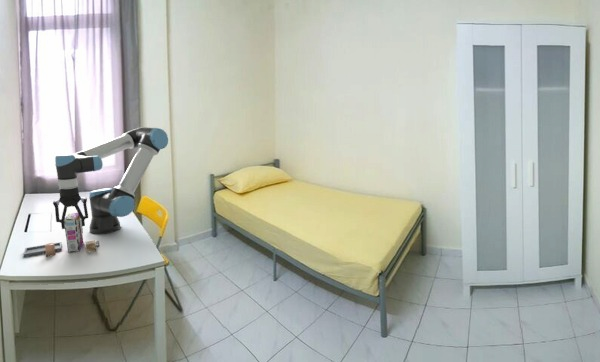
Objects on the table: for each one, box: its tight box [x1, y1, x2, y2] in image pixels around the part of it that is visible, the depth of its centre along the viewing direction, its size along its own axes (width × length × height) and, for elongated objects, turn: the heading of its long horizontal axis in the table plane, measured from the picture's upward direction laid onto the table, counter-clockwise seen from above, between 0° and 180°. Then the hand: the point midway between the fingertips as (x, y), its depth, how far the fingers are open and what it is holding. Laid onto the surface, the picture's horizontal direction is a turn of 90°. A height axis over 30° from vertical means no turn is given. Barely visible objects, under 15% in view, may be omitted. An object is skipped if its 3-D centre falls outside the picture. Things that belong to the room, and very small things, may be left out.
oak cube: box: [85, 240, 97, 253], centre depth 163 cm, size 4×4×4 cm
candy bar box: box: [64, 212, 84, 253], centre depth 164 cm, size 11×5×16 cm, turn 23°
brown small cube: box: [44, 242, 57, 257], centre depth 157 cm, size 4×4×5 cm
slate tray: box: [23, 242, 63, 258], centre depth 162 cm, size 14×8×2 cm, turn 123°
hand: (74, 233), depth 164 cm, fingers closed on candy bar box, 5 cm apart
